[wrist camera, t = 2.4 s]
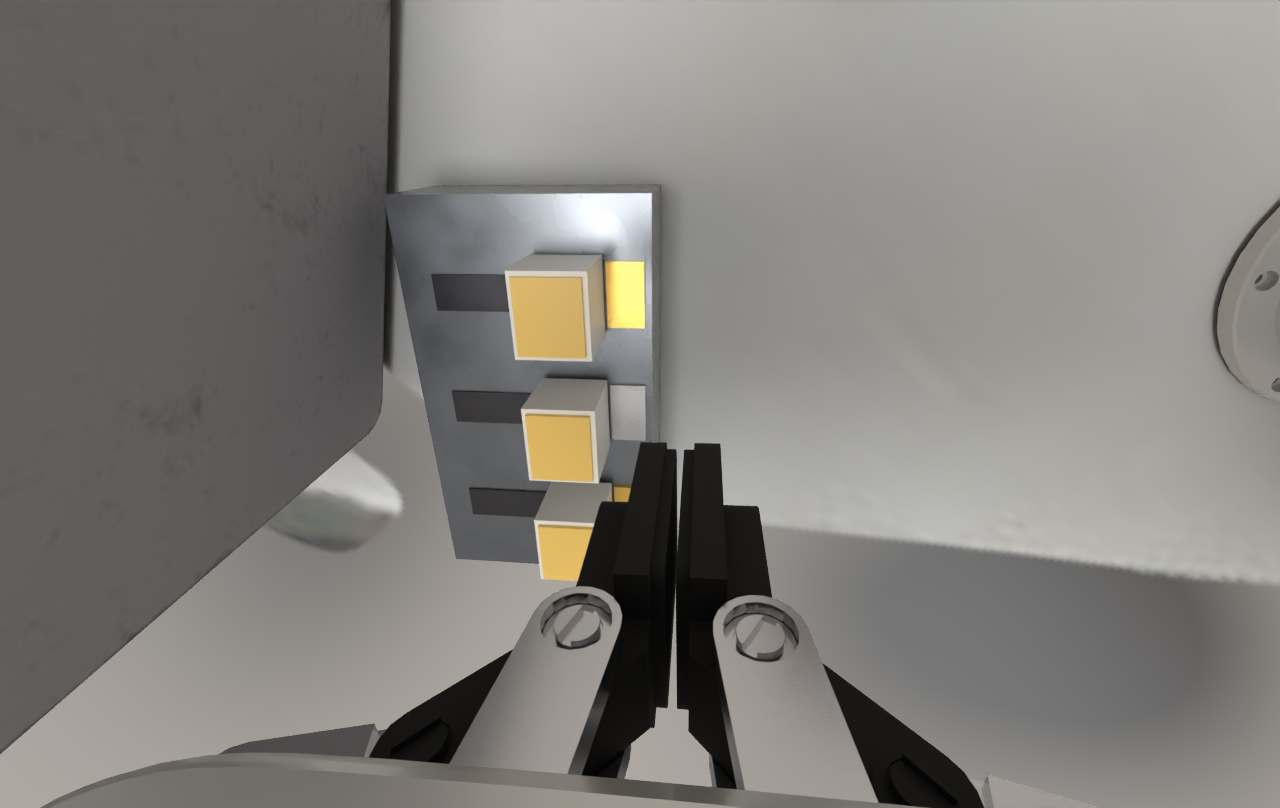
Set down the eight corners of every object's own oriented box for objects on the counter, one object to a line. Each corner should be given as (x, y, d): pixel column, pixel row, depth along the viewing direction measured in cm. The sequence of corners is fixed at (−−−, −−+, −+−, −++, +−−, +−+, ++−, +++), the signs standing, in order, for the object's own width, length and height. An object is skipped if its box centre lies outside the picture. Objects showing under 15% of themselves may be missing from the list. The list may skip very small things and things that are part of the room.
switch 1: (601, 254, 22) (585, 272, 19) (605, 335, 24) (590, 363, 21) (529, 254, 22) (502, 271, 19) (537, 333, 24) (513, 361, 21)
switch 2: (607, 379, 25) (593, 413, 21) (610, 445, 26) (597, 486, 23) (541, 377, 25) (519, 411, 22) (548, 443, 26) (528, 482, 23)
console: (660, 184, 26) (651, 193, 21) (659, 514, 34) (652, 573, 29) (436, 186, 27) (380, 195, 22) (487, 505, 35) (454, 561, 30)
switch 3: (611, 483, 27) (600, 526, 24) (613, 538, 28) (603, 585, 25) (551, 480, 27) (532, 523, 24) (557, 534, 29) (539, 581, 26)
